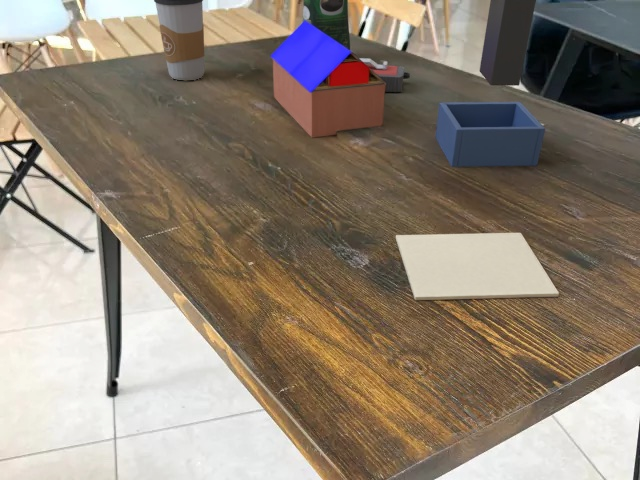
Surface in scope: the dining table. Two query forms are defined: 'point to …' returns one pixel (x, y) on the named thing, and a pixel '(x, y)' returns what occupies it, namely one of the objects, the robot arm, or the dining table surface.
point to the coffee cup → (182, 37)
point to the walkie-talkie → (388, 74)
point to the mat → (473, 267)
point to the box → (489, 134)
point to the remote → (506, 41)
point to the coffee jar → (329, 18)
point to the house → (325, 84)
